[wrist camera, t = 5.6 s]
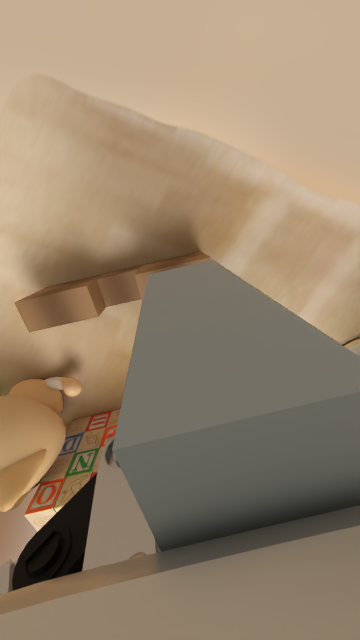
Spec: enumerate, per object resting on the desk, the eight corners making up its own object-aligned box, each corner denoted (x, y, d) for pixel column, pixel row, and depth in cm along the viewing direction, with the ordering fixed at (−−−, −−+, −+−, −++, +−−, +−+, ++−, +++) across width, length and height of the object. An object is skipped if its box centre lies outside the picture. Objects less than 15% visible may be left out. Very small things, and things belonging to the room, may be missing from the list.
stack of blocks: (214, 382, 33) (239, 465, 21) (224, 416, 35) (251, 507, 23) (71, 420, 34) (20, 517, 22) (88, 450, 36) (51, 553, 25)
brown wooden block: (201, 251, 26) (209, 257, 21) (205, 277, 27) (215, 290, 22) (46, 287, 27) (14, 302, 21) (57, 311, 28) (29, 332, 22)
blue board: (148, 275, 11) (112, 449, 2) (212, 259, 11) (399, 381, 2) (212, 507, 18) (261, 758, 9) (251, 497, 18) (334, 741, 9)
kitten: (-9, 423, 33) (-138, 563, 19) (-29, 361, 30) (-204, 478, 16) (98, 422, 34) (49, 555, 20) (91, 361, 31) (26, 473, 17)
